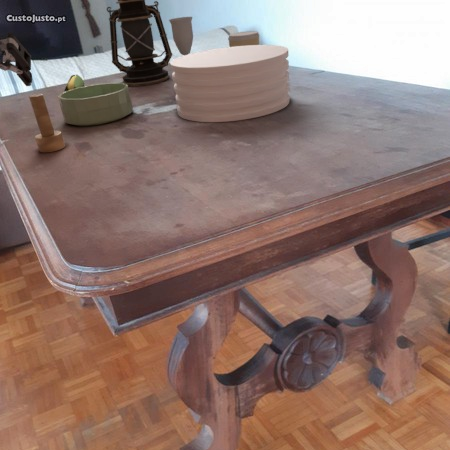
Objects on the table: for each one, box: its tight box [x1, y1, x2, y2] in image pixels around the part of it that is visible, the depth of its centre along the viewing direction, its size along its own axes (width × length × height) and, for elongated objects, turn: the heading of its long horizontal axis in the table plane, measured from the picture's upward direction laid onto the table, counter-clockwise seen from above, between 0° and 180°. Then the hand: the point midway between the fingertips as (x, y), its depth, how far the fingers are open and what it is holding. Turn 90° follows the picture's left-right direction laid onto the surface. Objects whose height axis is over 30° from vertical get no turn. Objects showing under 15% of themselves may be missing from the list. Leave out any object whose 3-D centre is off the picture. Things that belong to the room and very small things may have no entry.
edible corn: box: [63, 74, 86, 92], centre depth 152 cm, size 5×20×5 cm, turn 8°
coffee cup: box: [227, 30, 260, 47], centre depth 143 cm, size 9×9×12 cm
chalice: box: [168, 16, 194, 56], centre depth 139 cm, size 7×7×18 cm
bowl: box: [57, 82, 134, 127], centre depth 122 cm, size 18×18×6 cm
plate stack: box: [169, 44, 290, 123], centre depth 115 cm, size 28×28×12 cm
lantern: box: [106, 0, 174, 87], centre depth 151 cm, size 20×16×30 cm
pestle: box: [28, 93, 66, 153], centre depth 101 cm, size 6×6×11 cm
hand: (6, 84), depth 86 cm, fingers open, 8 cm apart
